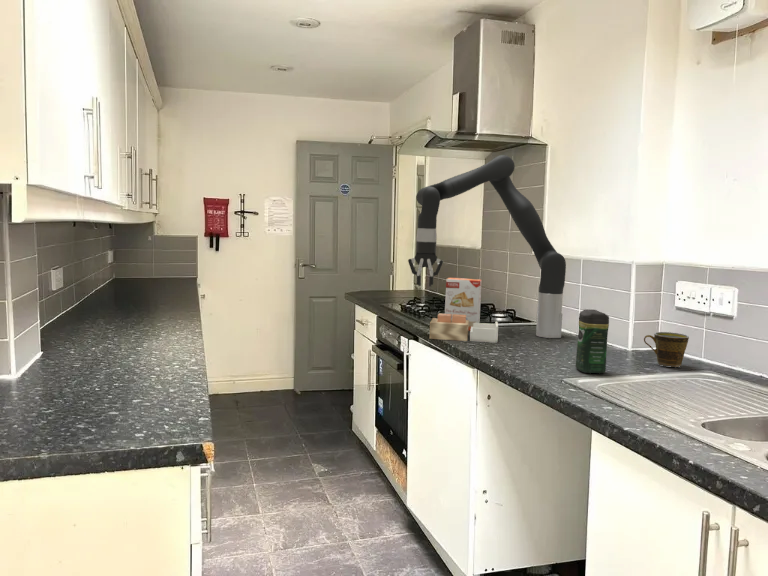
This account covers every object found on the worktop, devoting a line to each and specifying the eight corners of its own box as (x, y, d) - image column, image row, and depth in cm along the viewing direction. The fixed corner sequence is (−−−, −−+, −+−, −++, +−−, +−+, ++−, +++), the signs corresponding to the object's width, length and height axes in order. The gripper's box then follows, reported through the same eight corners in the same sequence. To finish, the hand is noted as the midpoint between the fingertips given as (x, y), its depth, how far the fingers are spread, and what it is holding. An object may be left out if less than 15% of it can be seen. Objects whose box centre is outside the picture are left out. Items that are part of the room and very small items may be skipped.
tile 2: (465, 321, 233) (466, 314, 233) (465, 323, 228) (465, 316, 228) (452, 320, 234) (453, 314, 234) (452, 322, 229) (452, 316, 229)
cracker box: (443, 329, 249) (445, 278, 247) (445, 326, 255) (447, 277, 253) (478, 331, 246) (480, 280, 243) (479, 329, 252) (481, 278, 249)
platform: (468, 335, 237) (468, 320, 237) (467, 341, 225) (467, 324, 225) (432, 333, 239) (432, 318, 239) (429, 338, 228) (429, 322, 227)
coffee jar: (609, 375, 179) (613, 312, 177) (582, 374, 179) (586, 312, 177) (597, 367, 189) (602, 308, 187) (572, 366, 189) (576, 307, 187)
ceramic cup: (682, 363, 198) (685, 333, 197) (689, 370, 188) (692, 338, 187) (639, 360, 201) (642, 330, 200) (644, 366, 192) (646, 335, 190)
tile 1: (451, 320, 234) (451, 314, 234) (450, 322, 229) (451, 315, 229) (438, 319, 235) (438, 313, 235) (437, 321, 230) (437, 315, 230)
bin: (496, 336, 235) (497, 321, 235) (497, 342, 224) (498, 326, 223) (470, 335, 237) (471, 320, 236) (469, 341, 225) (470, 325, 225)
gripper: (445, 241, 233) (444, 285, 234) (409, 239, 235) (407, 284, 237) (444, 241, 225) (442, 287, 227) (406, 240, 228) (405, 286, 229)
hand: (424, 285), depth 232 cm, fingers open, 3 cm apart
